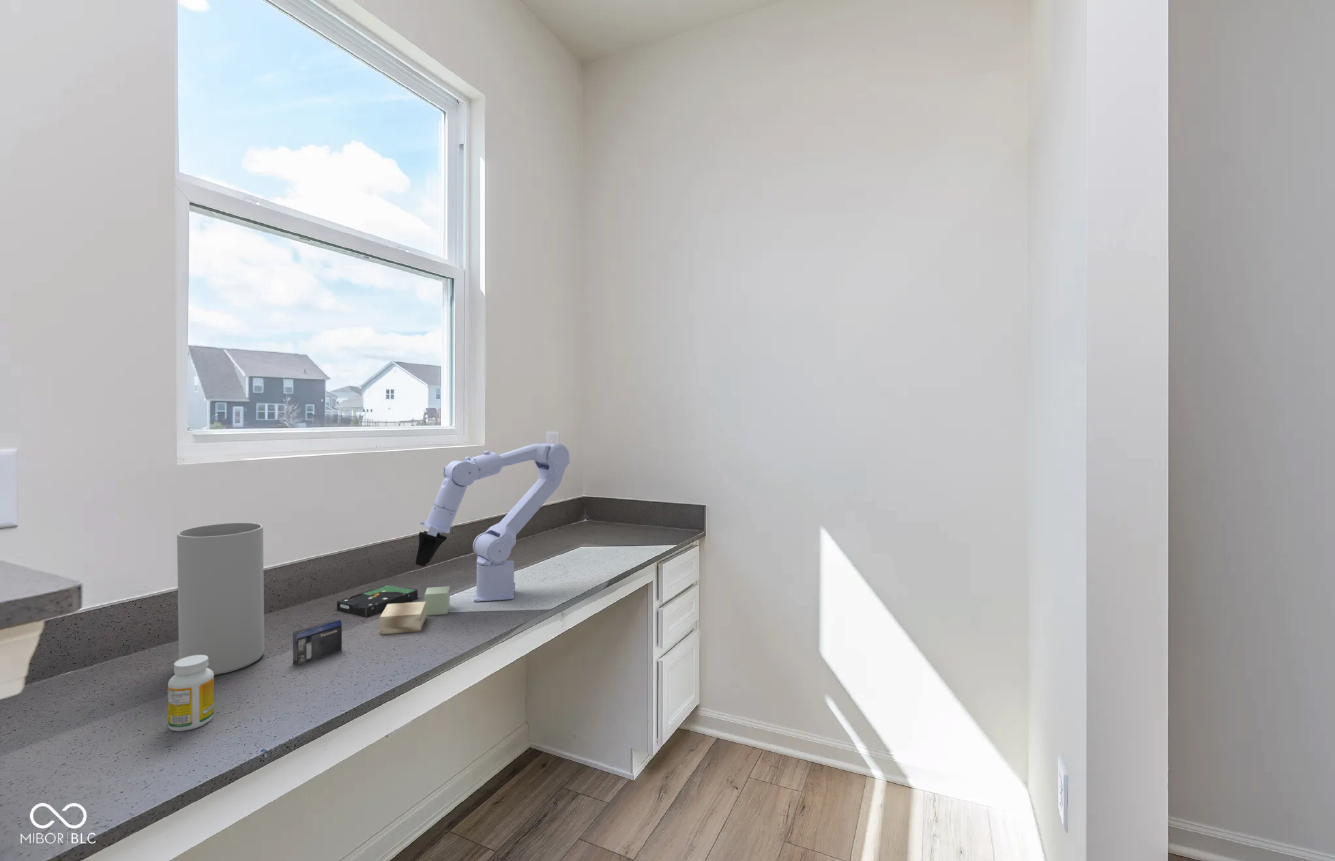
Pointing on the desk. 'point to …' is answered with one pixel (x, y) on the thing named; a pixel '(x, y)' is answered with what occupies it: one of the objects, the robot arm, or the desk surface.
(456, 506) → the robot arm
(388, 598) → the disk drive
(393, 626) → the birch block
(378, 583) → the desk surface
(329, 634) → the mini dv tape
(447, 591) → the sage block
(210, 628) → the cylinder vase
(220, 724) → the desk surface
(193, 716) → the supplement bottle
